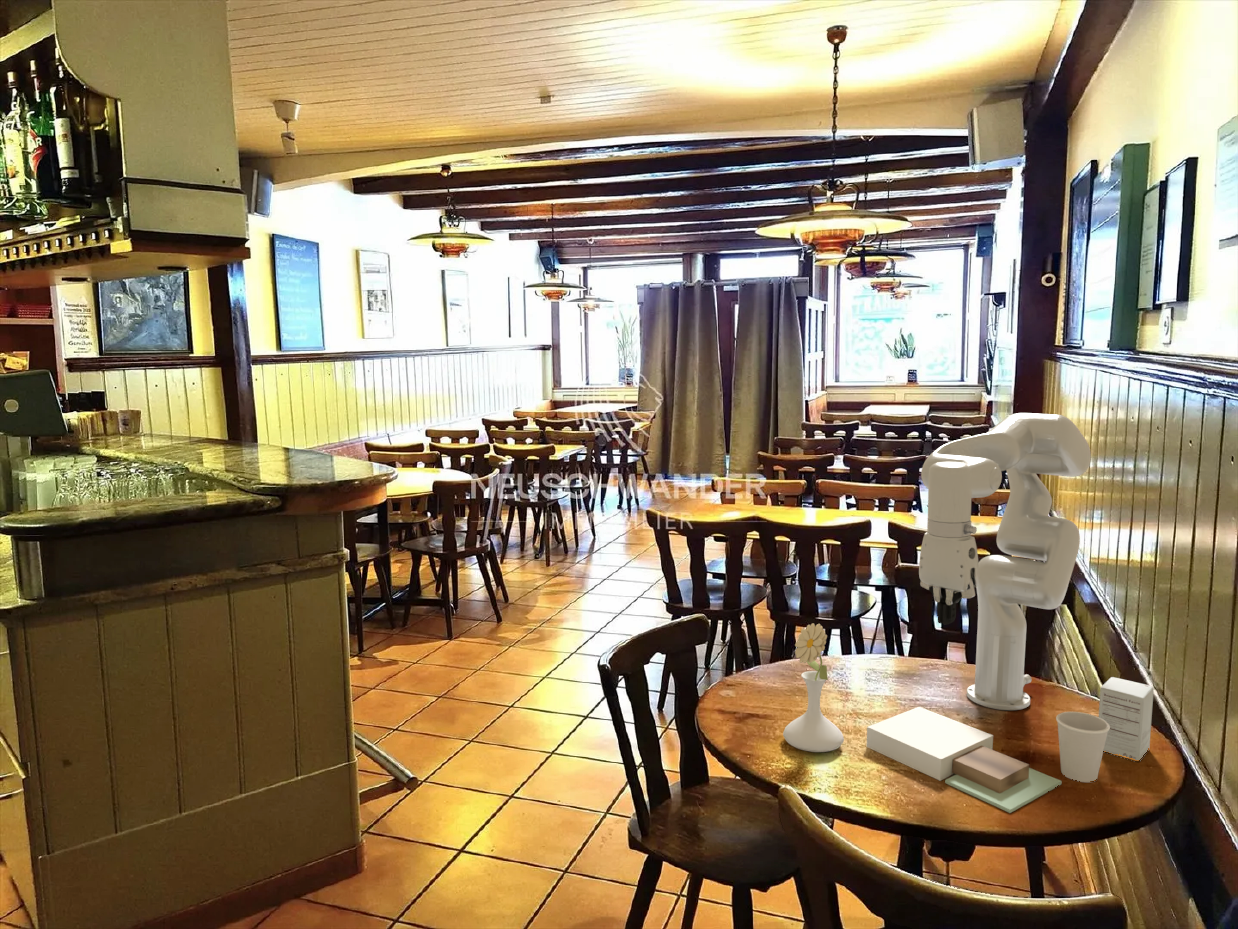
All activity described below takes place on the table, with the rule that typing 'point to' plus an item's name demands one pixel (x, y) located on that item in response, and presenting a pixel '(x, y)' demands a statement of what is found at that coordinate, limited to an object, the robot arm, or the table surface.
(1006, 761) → the walnut block
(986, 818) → the table surface
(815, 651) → the flower in vase
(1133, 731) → the supplement box
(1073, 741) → the dixie cup
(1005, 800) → the green mat
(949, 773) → the flat white rectangular box
